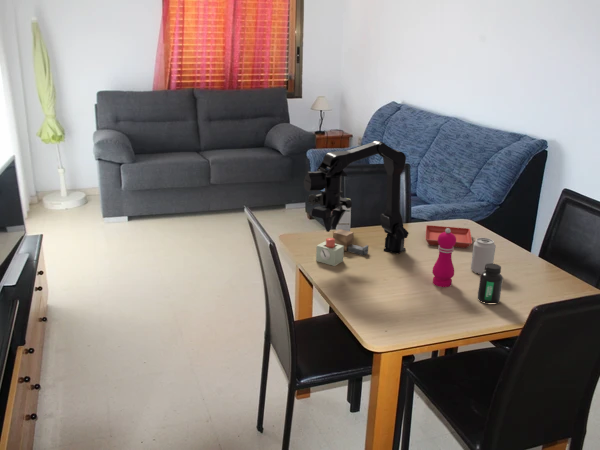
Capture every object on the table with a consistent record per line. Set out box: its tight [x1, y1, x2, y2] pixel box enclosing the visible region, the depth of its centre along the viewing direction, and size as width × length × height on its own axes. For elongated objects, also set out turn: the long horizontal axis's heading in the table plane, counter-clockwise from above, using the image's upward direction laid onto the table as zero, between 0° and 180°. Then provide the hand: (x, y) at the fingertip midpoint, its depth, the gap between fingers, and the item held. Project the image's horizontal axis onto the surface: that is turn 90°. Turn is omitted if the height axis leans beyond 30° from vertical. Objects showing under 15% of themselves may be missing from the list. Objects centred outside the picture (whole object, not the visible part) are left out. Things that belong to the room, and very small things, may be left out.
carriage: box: [332, 229, 354, 252], centre depth 231 cm, size 6×5×6 cm
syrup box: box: [335, 197, 352, 232], centre depth 246 cm, size 6×6×14 cm
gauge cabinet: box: [315, 240, 345, 267], centre depth 218 cm, size 8×6×6 cm
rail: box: [346, 244, 369, 257], centre depth 230 cm, size 15×3×3 cm, turn 55°
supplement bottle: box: [477, 262, 504, 304], centre depth 190 cm, size 7×7×12 cm
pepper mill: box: [431, 228, 456, 288], centre depth 200 cm, size 7×7×20 cm
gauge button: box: [325, 237, 335, 248], centre depth 217 cm, size 3×3×4 cm
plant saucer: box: [424, 225, 473, 249], centre depth 243 cm, size 18×18×3 cm
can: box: [470, 237, 496, 275], centre depth 212 cm, size 8×8×12 cm
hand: (330, 230), depth 216 cm, fingers open, 4 cm apart
